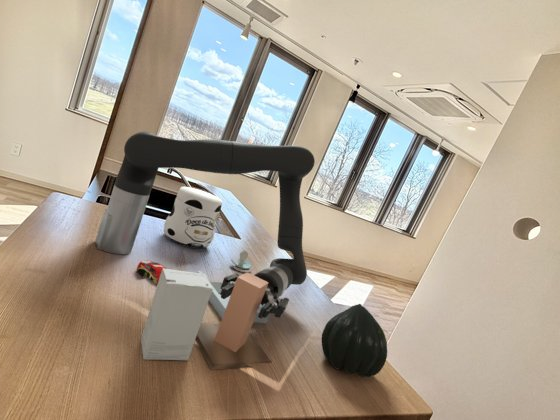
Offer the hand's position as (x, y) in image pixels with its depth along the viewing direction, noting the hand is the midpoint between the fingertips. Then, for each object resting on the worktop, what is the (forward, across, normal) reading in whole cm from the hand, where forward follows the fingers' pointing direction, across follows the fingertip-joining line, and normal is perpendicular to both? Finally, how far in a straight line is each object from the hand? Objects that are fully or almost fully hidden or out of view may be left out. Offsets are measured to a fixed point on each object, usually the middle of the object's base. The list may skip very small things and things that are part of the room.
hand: (242, 303), depth 71 cm
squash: (-19, +23, +11) cm, 32 cm away
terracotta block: (-2, 0, +9) cm, 9 cm away
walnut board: (-2, 0, +10) cm, 11 cm away
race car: (-12, -26, +11) cm, 31 cm away
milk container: (-47, -41, +11) cm, 63 cm away
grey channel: (-19, -9, +10) cm, 24 cm away
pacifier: (-47, -18, +11) cm, 51 cm away
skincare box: (+10, -8, +11) cm, 17 cm away
